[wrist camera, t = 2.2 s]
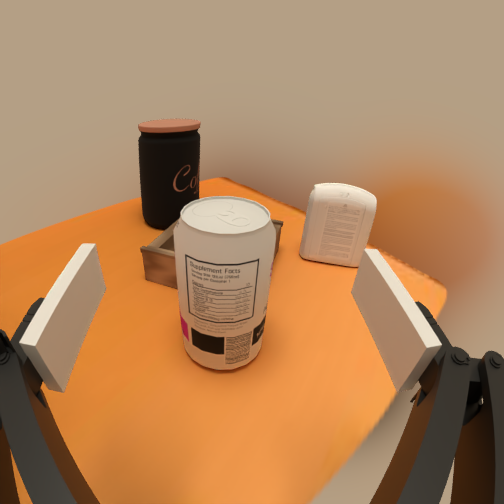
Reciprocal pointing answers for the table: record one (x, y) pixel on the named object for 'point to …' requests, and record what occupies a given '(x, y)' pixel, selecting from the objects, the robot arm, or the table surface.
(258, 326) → the supplement can
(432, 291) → the table surface
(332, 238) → the white rounded block
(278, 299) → the table surface
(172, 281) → the crate
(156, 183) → the coffee jar
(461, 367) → the robot arm
